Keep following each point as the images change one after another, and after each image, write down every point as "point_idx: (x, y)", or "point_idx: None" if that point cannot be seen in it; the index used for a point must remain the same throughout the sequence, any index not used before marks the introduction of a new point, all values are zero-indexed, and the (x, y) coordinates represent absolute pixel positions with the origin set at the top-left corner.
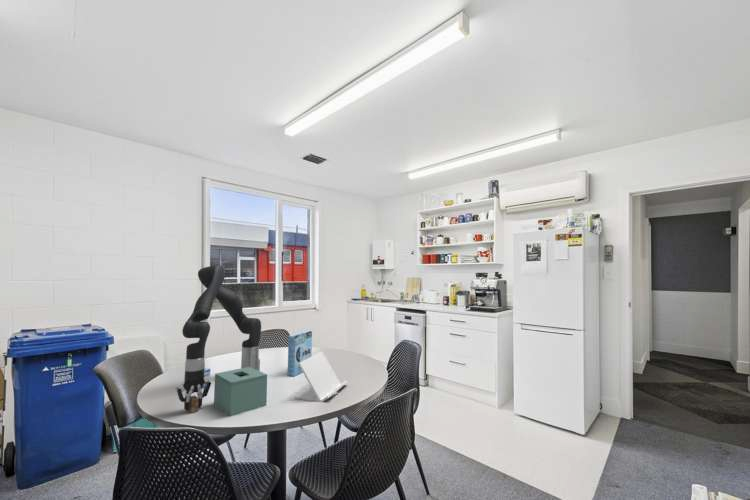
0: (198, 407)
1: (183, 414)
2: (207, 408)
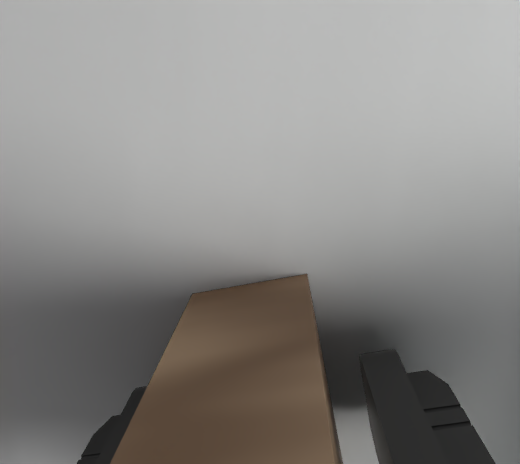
0: (371, 428)
1: None
2: (517, 422)
